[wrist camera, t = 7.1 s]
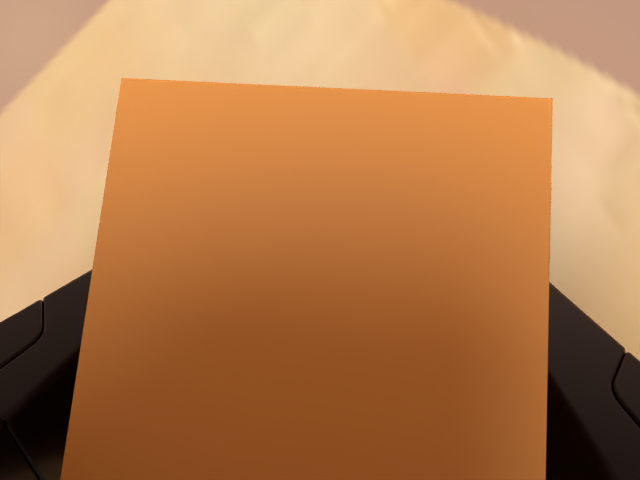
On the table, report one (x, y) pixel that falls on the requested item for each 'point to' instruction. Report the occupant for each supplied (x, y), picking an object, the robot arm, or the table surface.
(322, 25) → the table surface
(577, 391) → the robot arm
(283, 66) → the table surface
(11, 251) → the table surface
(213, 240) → the tall orange pillar
